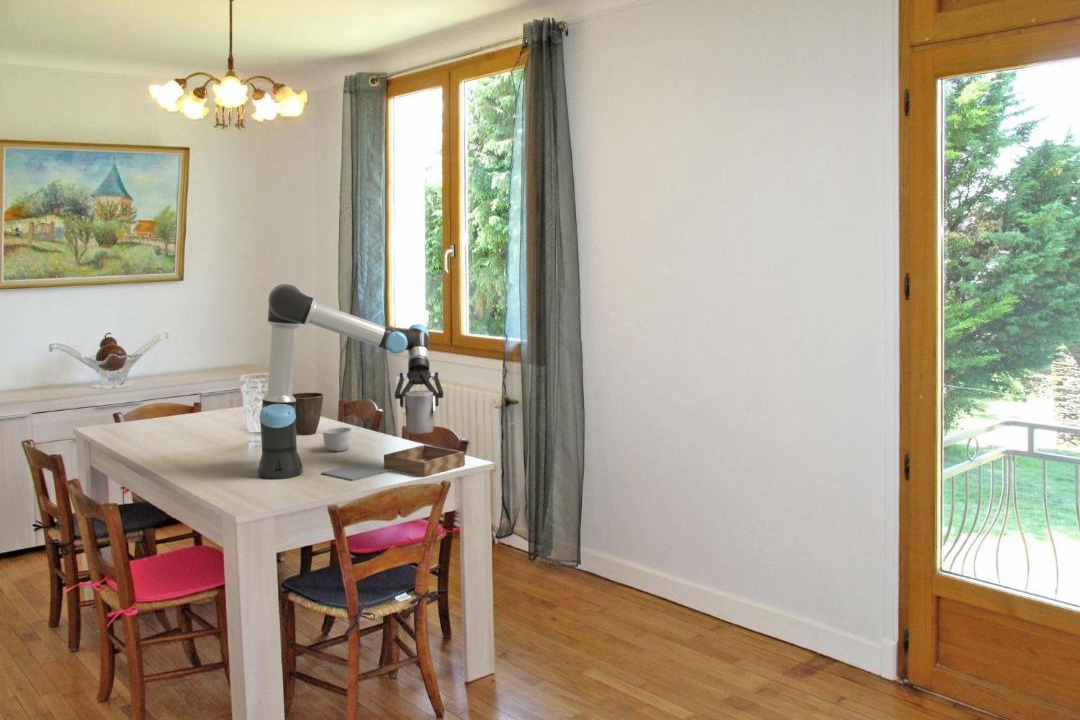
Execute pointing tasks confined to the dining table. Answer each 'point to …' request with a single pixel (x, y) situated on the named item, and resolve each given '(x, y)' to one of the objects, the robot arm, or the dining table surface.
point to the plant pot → (308, 412)
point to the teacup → (337, 438)
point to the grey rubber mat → (354, 472)
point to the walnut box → (410, 461)
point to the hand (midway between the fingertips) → (419, 413)
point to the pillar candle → (419, 412)
